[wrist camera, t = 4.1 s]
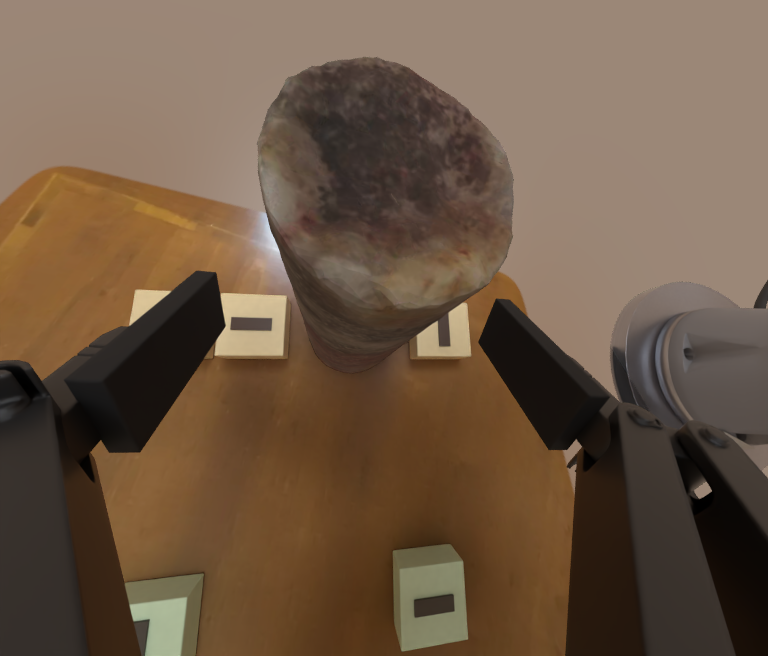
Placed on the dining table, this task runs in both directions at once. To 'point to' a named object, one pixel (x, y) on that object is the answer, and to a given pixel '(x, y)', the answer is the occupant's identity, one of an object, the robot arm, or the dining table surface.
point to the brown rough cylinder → (380, 204)
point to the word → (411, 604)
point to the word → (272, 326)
